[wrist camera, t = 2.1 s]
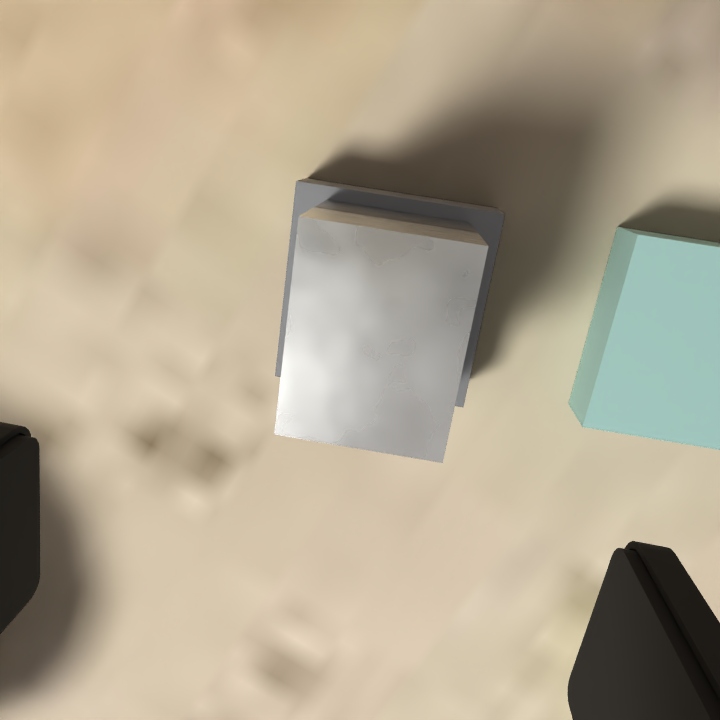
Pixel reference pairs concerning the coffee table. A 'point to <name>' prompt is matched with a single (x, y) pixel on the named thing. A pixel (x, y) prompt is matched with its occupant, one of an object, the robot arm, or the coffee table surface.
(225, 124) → the coffee table surface
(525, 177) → the coffee table surface
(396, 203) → the stand
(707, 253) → the stand
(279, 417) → the block
